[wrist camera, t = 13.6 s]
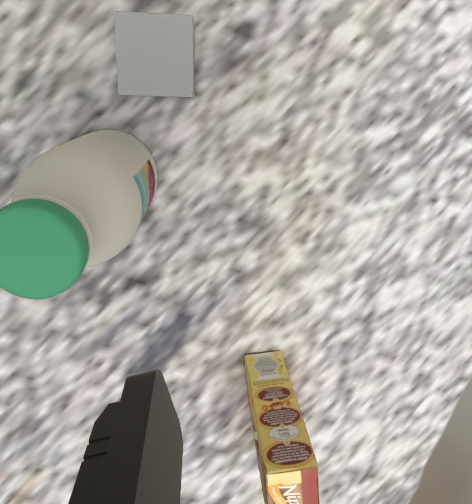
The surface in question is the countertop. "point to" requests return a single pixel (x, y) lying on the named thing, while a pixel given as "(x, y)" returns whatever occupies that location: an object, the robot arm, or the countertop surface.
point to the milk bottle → (74, 211)
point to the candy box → (280, 433)
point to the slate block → (155, 54)
